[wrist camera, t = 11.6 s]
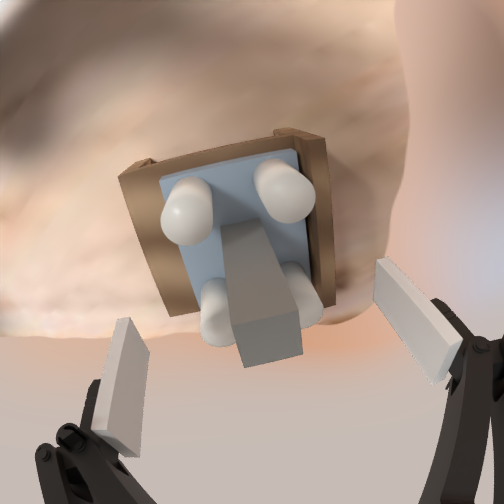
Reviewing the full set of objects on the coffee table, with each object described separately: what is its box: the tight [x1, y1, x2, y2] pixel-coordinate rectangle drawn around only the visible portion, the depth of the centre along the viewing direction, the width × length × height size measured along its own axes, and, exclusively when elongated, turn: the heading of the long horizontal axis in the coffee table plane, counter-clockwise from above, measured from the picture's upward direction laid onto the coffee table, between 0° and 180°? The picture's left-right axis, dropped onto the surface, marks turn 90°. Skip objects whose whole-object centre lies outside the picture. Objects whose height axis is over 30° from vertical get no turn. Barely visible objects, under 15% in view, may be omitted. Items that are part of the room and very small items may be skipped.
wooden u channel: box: [118, 128, 336, 317], centre depth 25 cm, size 14×15×10 cm
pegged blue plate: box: [159, 148, 324, 368], centre depth 19 cm, size 12×10×12 cm
